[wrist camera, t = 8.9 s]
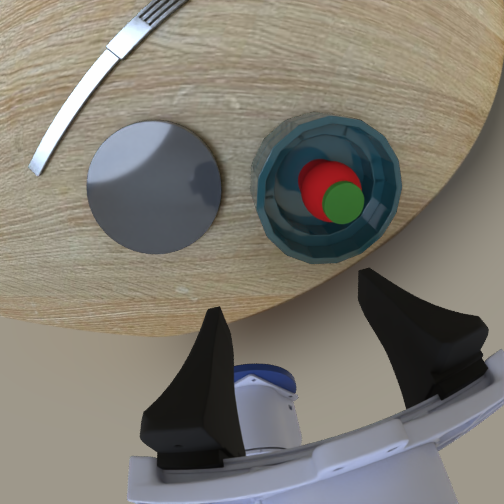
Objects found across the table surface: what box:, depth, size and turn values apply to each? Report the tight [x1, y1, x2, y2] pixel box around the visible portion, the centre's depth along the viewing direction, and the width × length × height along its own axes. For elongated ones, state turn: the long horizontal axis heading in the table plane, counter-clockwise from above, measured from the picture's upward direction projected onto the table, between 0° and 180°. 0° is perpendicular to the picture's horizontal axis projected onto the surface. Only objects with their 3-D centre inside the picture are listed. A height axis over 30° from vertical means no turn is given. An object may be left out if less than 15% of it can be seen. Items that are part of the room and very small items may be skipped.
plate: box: [87, 120, 221, 254], centre depth 19 cm, size 10×10×1 cm
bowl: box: [250, 112, 402, 264], centre depth 19 cm, size 10×10×4 cm
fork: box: [28, 0, 188, 177], centre depth 14 cm, size 18×2×1 cm, turn 133°
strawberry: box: [298, 159, 364, 224], centre depth 18 cm, size 4×4×5 cm
